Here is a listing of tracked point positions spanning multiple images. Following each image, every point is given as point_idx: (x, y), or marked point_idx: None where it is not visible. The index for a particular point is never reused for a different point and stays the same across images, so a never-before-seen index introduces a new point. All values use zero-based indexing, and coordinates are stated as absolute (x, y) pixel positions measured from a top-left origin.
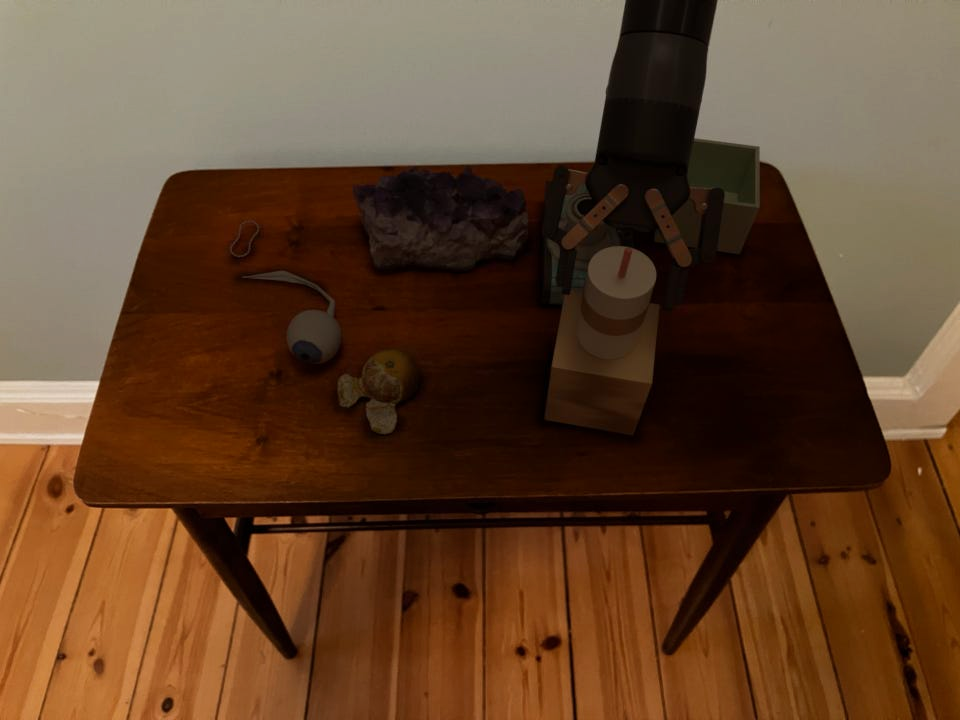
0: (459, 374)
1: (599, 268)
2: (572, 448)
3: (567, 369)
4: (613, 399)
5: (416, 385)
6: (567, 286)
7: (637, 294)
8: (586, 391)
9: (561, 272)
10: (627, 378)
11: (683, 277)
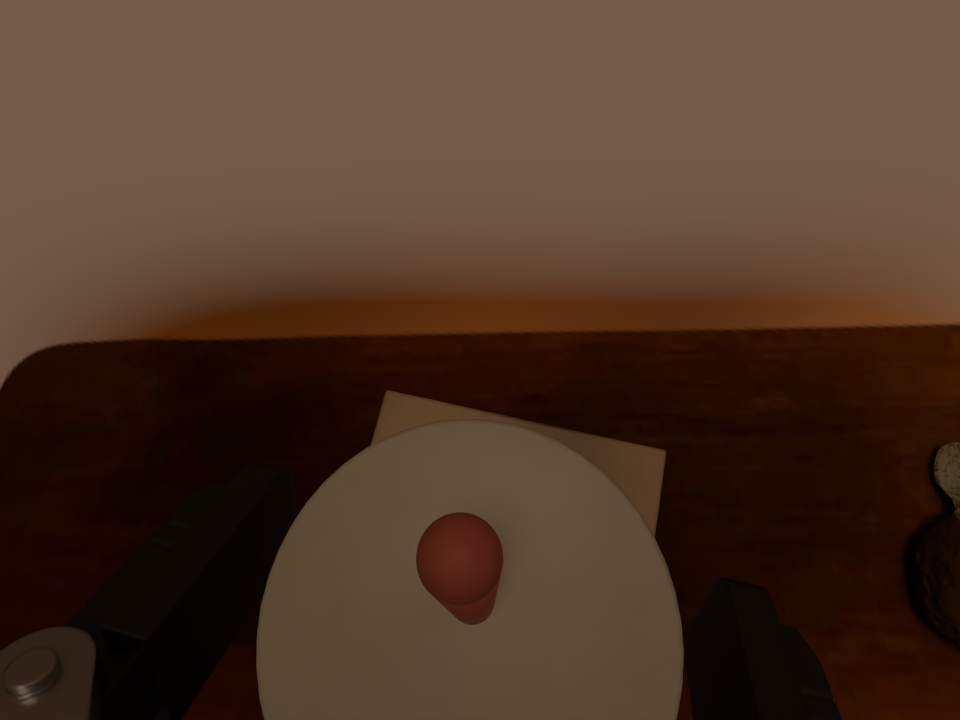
0: (810, 604)
1: (608, 666)
2: (552, 410)
3: (619, 440)
4: None
5: (925, 556)
6: (750, 605)
7: (402, 446)
8: None
9: (807, 700)
10: (450, 406)
11: (120, 591)
